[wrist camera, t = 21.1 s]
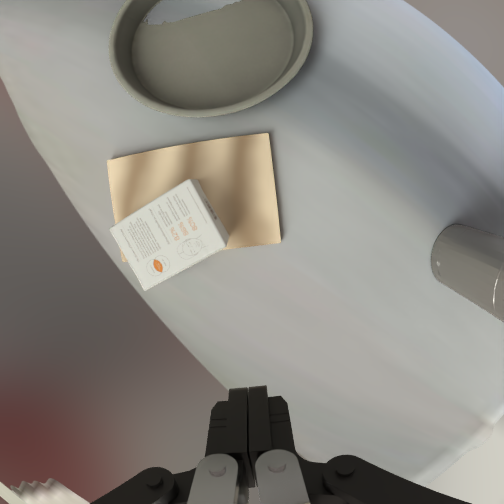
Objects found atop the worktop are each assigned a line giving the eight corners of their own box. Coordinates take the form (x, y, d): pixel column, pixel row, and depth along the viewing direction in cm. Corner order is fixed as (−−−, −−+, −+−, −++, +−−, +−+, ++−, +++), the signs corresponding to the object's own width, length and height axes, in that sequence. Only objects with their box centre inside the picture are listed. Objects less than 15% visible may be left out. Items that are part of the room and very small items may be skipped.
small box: (198, 177, 35) (125, 220, 36) (189, 177, 29) (106, 228, 30) (230, 237, 36) (157, 276, 37) (228, 248, 31) (143, 292, 32)
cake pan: (335, 13, 31) (344, -3, 26) (250, 158, 36) (251, 155, 31) (182, -41, 28) (176, -58, 24) (89, 87, 33) (74, 78, 28)
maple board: (267, 134, 35) (268, 133, 34) (280, 241, 38) (281, 242, 37) (110, 161, 35) (106, 160, 34) (125, 260, 38) (122, 262, 37)
